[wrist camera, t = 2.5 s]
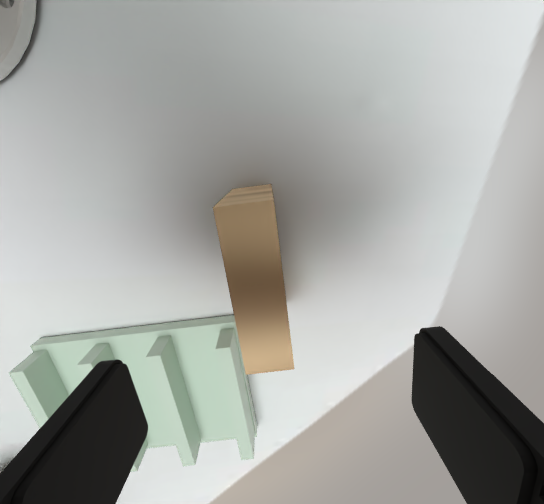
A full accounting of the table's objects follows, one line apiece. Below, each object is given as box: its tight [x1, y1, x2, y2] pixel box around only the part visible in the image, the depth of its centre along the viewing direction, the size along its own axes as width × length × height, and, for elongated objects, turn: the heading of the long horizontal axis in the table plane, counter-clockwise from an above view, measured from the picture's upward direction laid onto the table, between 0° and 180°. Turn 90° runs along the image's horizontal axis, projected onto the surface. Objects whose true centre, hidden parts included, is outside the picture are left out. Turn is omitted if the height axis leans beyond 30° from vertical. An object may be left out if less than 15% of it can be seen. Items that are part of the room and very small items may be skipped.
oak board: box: [213, 184, 294, 375], centre depth 16 cm, size 9×3×7 cm, turn 7°
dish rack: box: [9, 315, 257, 472], centre depth 22 cm, size 12×16×3 cm
